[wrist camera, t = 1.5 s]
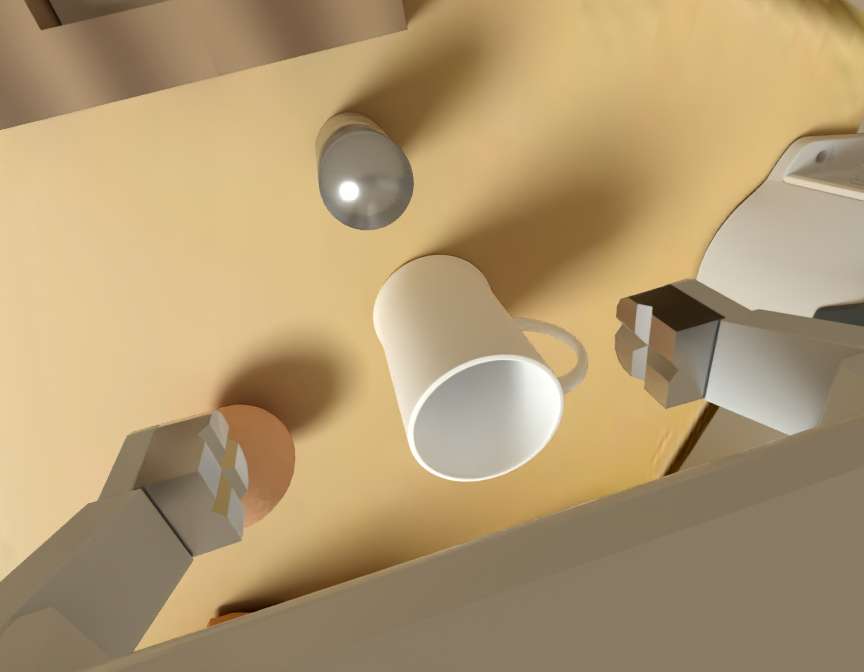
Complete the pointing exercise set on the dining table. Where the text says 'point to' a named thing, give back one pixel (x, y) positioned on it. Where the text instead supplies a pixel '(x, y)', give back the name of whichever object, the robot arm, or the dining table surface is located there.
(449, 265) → the mug
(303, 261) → the dining table surface
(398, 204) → the peg
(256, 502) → the egg
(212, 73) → the plate
